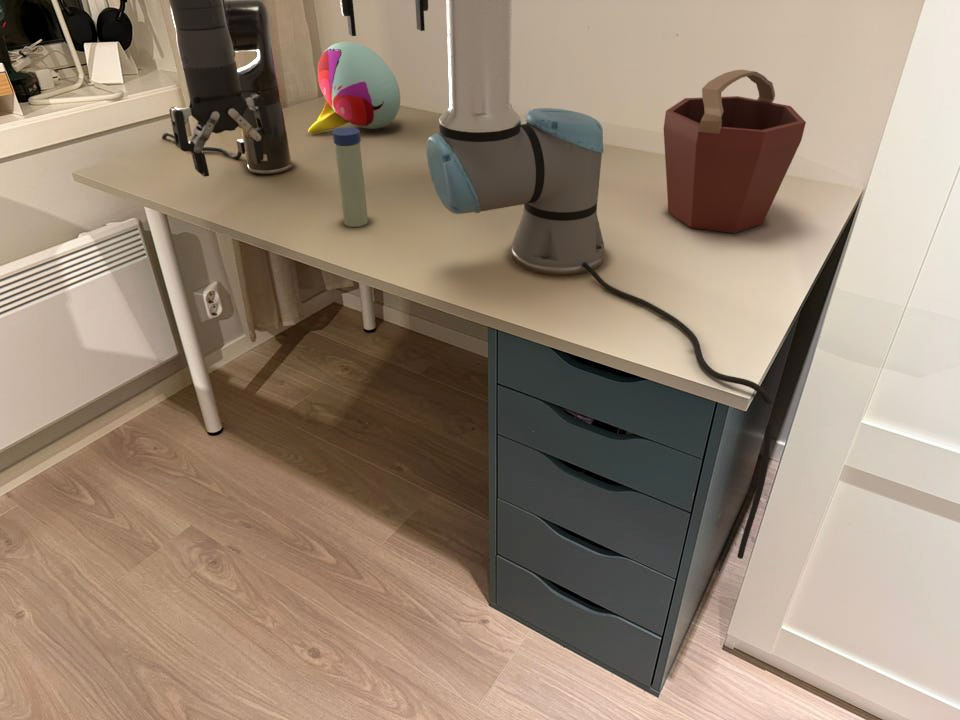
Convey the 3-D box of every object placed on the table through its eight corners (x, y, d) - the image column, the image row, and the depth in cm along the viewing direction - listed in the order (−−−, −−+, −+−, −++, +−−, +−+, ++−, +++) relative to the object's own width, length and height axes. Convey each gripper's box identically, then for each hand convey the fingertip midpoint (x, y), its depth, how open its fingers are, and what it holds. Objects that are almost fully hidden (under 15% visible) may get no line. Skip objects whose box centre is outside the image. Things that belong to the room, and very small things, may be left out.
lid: (335, 137, 124) (334, 127, 123) (362, 136, 124) (361, 127, 123) (331, 145, 120) (329, 135, 119) (358, 145, 120) (357, 135, 119)
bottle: (346, 217, 132) (335, 130, 123) (369, 217, 132) (360, 130, 123) (342, 227, 128) (331, 137, 119) (366, 226, 128) (356, 137, 119)
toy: (277, 110, 181) (275, 51, 163) (352, 72, 191) (358, 13, 173) (336, 175, 178) (341, 122, 160) (410, 134, 188) (421, 79, 170)
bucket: (710, 250, 119) (740, 96, 105) (622, 208, 134) (638, 69, 120) (804, 218, 129) (843, 75, 115) (713, 183, 145) (736, 53, 131)
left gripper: (245, 50, 109) (264, 154, 118) (150, 62, 101) (178, 172, 110) (265, 57, 104) (283, 166, 113) (167, 71, 96) (194, 185, 105)
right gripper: (437, -101, 131) (441, 24, 143) (302, -99, 123) (318, 33, 135) (451, -100, 125) (454, 30, 137) (310, -98, 117) (326, 40, 129)
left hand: (231, 169), depth 112 cm, fingers open, 8 cm apart
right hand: (387, 32), depth 136 cm, fingers open, 13 cm apart
